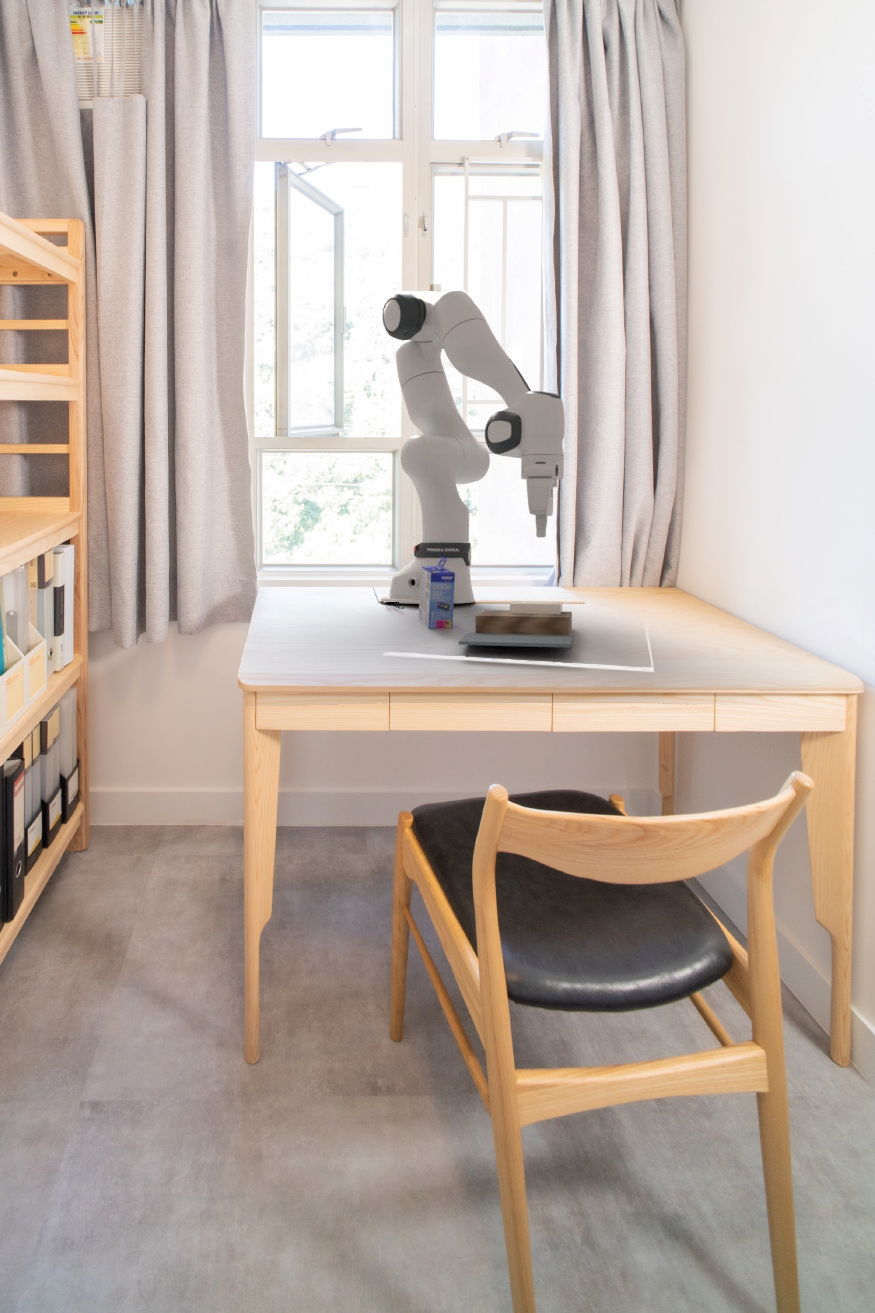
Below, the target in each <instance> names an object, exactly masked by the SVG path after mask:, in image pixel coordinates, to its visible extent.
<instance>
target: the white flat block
mask: <svg viewBox="0 0 875 1313" xmlns="http://www.w3.org/2000/svg"><path fill="white" fill-rule="evenodd" d="M509 610H510V613H512V614H561V613H562V611H563V601H532V600H531V601H530V600H528V601H527V600H524V601H523V600H522V601H521V600H513V601H512V602H510V603H509Z"/></svg>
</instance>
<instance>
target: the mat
mask: <svg viewBox="0 0 875 1313" xmlns="http://www.w3.org/2000/svg"><path fill="white" fill-rule="evenodd" d="M574 639H575V635H572V634H570V635H540V634H498V633H475V632H470V633H467V634H466V636H464V637H462V638H461V639H459V640H458V643H457V644H458V645H459V646H460V645H464V646H496V647H497V646H499V647H500V646H502V647H534V648H535V647H538V648H543V647H544V648H571V647H572V645H573V642H574Z"/></svg>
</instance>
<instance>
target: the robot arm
mask: <svg viewBox="0 0 875 1313" xmlns="http://www.w3.org/2000/svg"><path fill="white" fill-rule="evenodd" d="M382 323H383V326H384V329H385V332H386V333H387V334H388V335H389V336H390V337H392V338H393V339H396V340H398V341H399V340H400V341H402V342H401V343H400V344H399V345H398V347H397V348H396V351H395V362H396V370H397V376H398V381H399V385H400V390H401V393H402V396H403V399H404V404H405V407H406V409H407V413H408V416H409V419H410V421H411V422H412V424H413V425H414V426H415V427H416V428H417V429H418V430H420V431H421V434H417V435H413V436H411V437H408V438H407V439H406V441H405V442H404V444H403V445H402V448H401V451H400V464H401V466H402V467H401V468H402V470H403V471H404V473H405V474H406V475H407V476H408V477H409V479H410V480H411V481H412V484H413V486H414V488H415V490H416V492H417V495H418V498H419V502H420V503H419V504H420V508H421V518H422V521H421V522H422V523H421V524H422V527H421V528H422V542H420V543H418V544H416V545H414V546H413V556H414V557H415V558H413V559H411V561H410V562H408V563H407V564H406V565H405V566H404V567H402V568H401V569H399V570H398V571H397V572H396V573H395V574H393V577H392V578H391V581H390V582H391V583H390V589H389V595H388V596H389V597H383V596H381V597H380V601H381V600H382V601H396V602H399V603H398V604H417V605H419V600H420V579H421V567H427V566H436V567H437V565H438V563H439V561H440V560H441V558H442V557H444V558H446V559H447V561H446V563H445V564H444V566H443V567H445V568H446V569H448V570H450V571H452V572H454V573H455V581H454V603H453V604H465V603H466V604H468V603H474V602H476V598H475V596H474V591H473V585H472V579H471V571H470V569H471V568H470V566H471V565H472V564H471V563H472V548H471V546H472V544H471V542H470V511H469V508H468V506H467V504H466V503H464V501H463V500H462V498H461V497H460V494H459V492H458V486H457V485H467V484H472V483H475V482H477V481H478V482H479V481H480V480H483V478H484V477H485V476H486V475H487V474H488V471H489V469H490V463H491V460H490V459H491V458H490V453H489V451H488V450H490V452H491V453H492V454H494V455H498V456H502V457H511V458H514V459H515V458H517V459H521V461H520V462H521V465H520V467H521V468H520V478H521V480H526V493H527V494H526V495H527V504H528V511H529V514H530V515H534V516H535V527H536V528H535V529H536V531H535V532H536V534H535V535H536V538H546V536H547V526H548V525H547V524H548V517H551V516H553V512H554V488H557V487H558V480H563V479H564V476H565V472H564V469H565V453H564V452H565V451H564V449H563V440H564V439H565V438H564V437H565V426H566V424H565V407H564V403H563V399H562V397H561V396H559V395H558V394H557V393H553V392H547V391H541V390H532V389H531V388H530V386H529V385H528V383H527V381H526V380H525V378H524V376H523V375H522V373H521V372H520V370H519V369H518V367H517V366H516V364H514V362H513V361H512V359H511V358H510V357H509V355H508V354H507V353H506V352H505V350H504V349H503V347H502V345H501V344H500V343H499V341H498V339H497V338H496V337H495V335H494V333H493V331H492V329H491V327H490V325H489V323H488V321H487V319H486V318H485V315H484V314H483V312H482V311H481V308H480V307H479V306H478V304H477V303H476V301H475V300H474V299H473V297H471V295H470V294H469V293H468V292H466V291H465V290H463V289H460V288H453V289H449V290H447V291H444V292H437V291H430V290H428V291H407V290H406V291H405V290H404V291H403V290H402V291H398V292H394V293H392V294H391V295H390V296H388V298H387V299H386V301H385V303H384V306H383V308H382ZM443 350H444V352H445V355H446V356H447V359H448V360H449V362H450V363H451V365H452V366H453V367H454V368H455V369H456V371H458V373H460V374H461V375H463V376H465V377H468V378H469V379H473V380H475V381H477V382H479V383H481V384H483V385H485V386H487V387H489V388H491V389H492V390H494V392H497V394H498V395H500V397H501V398H502V400H503V401H504V403H505V404H506V406H507V408H505V409H503V410H499V411H496V412H494V413H493V414H492V415H491V416H490V417H489V418H488V420H487V422H486V425H485V429H484V439H485V444H486V446H487V447H488V449H487V447H486V446H485V445H484V444H483V443H482V442H480V441H479V440H478V439H477V438H476V437H475V435H474V434H473V433H472V432H471V430H470V429H469V427H468V425H467V424H466V422H465V421H464V419H463V418H462V416H461V413H460V412H459V410H458V408H457V406H456V403H455V401H454V398H453V394H452V391H451V388H450V385H449V382H448V379H447V375H446V372H445V369H444V366H443V362H442V358H441V355H442V354H441V353H442V352H443ZM442 564H443V561H442V562H441V565H442Z"/></svg>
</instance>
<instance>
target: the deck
mask: <svg viewBox="0 0 875 1313" xmlns="http://www.w3.org/2000/svg"><path fill="white" fill-rule="evenodd" d="M572 621H573V611H564V610H562V613H561V614H512V613H510V609H508V610H507V609H506V610H505V609H504V610H503V609H500V610H499V609H484V610H482V611H480V612H479V613H478V614H476V615H475V632H474V633H498V634H540V635H572V634H571V633H572V626H573V624H572V623H573V622H572Z"/></svg>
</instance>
